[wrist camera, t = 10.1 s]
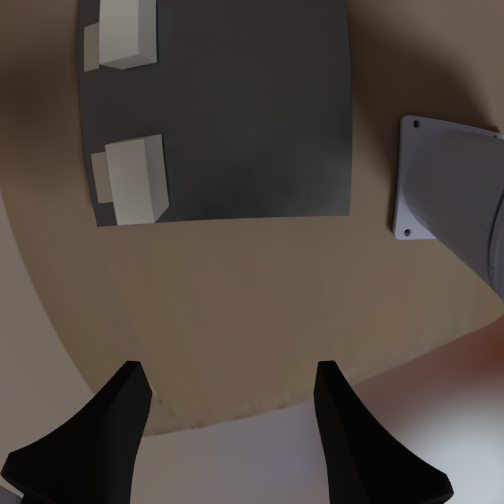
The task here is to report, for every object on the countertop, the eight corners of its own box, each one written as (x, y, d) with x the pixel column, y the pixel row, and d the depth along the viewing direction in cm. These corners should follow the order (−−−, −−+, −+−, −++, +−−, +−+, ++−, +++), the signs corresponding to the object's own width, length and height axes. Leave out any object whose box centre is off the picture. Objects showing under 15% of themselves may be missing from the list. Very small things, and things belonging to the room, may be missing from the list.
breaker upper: (161, 134, 15) (143, 138, 12) (169, 205, 16) (154, 222, 14) (126, 139, 15) (104, 145, 12) (136, 208, 17) (117, 225, 14)
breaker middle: (156, -1, 11) (139, -18, 9) (156, 62, 13) (138, 54, 11) (122, 7, 11) (100, -7, 9) (122, 69, 13) (99, 63, 11)
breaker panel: (321, -95, 9) (326, -106, 7) (342, 207, 18) (349, 216, 17) (100, -68, 9) (91, -77, 8) (107, 218, 19) (96, 227, 17)
